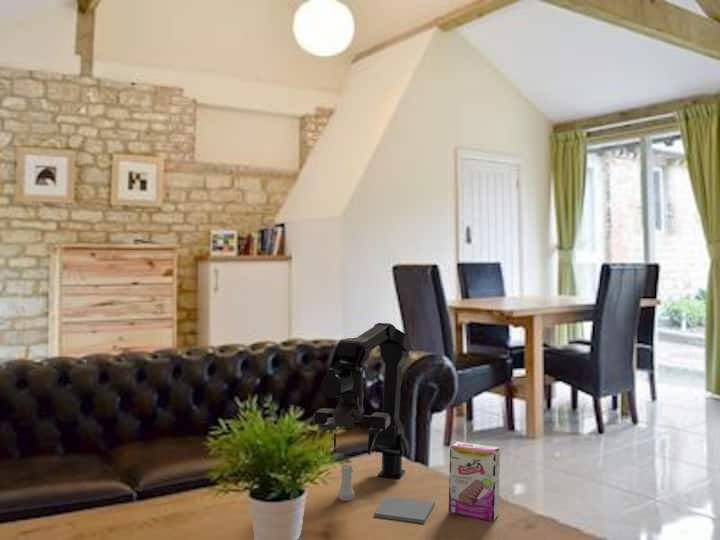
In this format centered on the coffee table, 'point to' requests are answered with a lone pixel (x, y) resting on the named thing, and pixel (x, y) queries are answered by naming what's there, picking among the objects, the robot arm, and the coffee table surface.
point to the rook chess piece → (346, 484)
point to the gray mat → (405, 509)
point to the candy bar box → (474, 481)
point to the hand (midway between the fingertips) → (351, 452)
